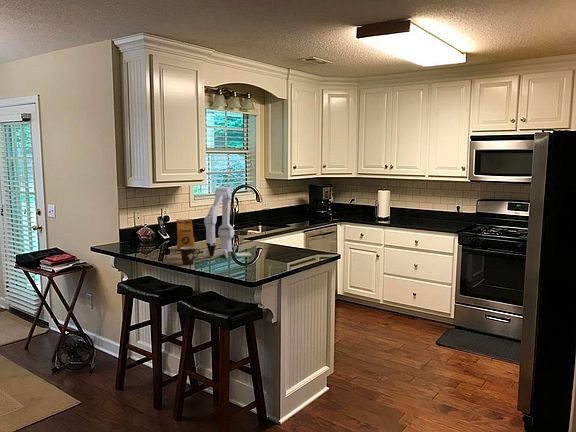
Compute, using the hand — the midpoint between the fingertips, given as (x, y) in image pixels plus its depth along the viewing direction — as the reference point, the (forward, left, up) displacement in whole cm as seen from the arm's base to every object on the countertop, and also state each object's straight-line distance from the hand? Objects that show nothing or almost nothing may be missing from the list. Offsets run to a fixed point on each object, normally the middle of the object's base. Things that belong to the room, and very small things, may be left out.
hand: (211, 254), depth 305 cm
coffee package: (-32, -15, -2) cm, 35 cm away
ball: (0, 0, -1) cm, 1 cm away
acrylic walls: (+1, +3, -1) cm, 3 cm away
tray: (0, +21, -1) cm, 21 cm away
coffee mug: (+18, -14, -2) cm, 23 cm away
